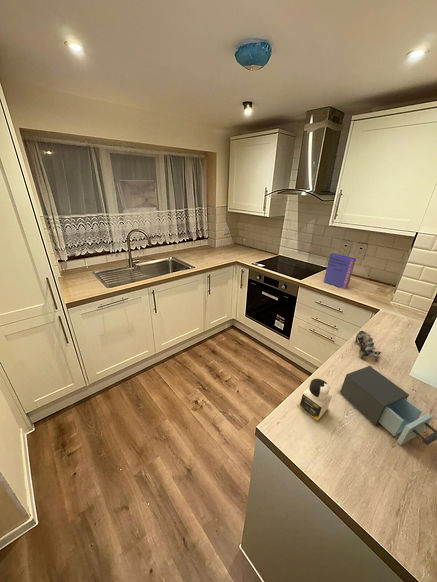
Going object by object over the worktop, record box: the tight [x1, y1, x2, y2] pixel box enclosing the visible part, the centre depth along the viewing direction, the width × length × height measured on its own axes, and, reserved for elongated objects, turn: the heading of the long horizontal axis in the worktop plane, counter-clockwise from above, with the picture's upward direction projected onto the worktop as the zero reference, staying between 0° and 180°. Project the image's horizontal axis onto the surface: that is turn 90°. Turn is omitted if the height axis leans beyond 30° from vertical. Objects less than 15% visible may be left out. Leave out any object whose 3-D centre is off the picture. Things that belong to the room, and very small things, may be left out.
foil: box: [355, 330, 382, 361], centre depth 113 cm, size 12×11×15 cm
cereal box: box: [323, 252, 357, 290], centre depth 183 cm, size 17×5×24 cm, turn 42°
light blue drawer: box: [378, 398, 437, 446], centre depth 76 cm, size 18×11×8 cm, turn 23°
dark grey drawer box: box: [339, 365, 410, 426], centre depth 85 cm, size 15×13×10 cm
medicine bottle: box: [299, 378, 332, 421], centre depth 82 cm, size 7×7×12 cm
